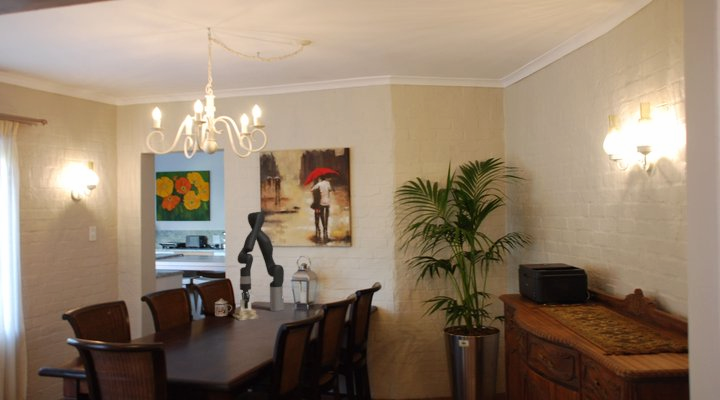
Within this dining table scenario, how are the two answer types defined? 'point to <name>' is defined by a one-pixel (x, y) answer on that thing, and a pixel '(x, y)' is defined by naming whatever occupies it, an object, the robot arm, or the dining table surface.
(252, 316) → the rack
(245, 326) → the dining table surface
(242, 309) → the tile
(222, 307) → the teacup with lid
